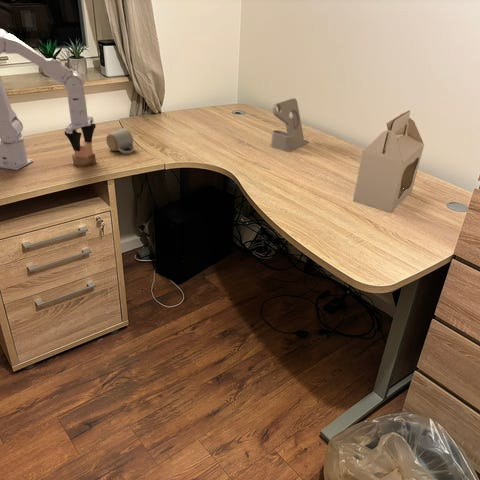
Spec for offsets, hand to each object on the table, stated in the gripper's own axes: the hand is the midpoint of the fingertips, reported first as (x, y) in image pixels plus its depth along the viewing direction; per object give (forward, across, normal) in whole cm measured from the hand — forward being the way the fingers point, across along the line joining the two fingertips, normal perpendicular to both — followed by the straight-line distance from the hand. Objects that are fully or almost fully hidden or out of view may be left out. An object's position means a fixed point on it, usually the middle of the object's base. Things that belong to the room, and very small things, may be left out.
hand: (82, 147), depth 170 cm
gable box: (+6, +13, -107) cm, 108 cm away
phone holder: (+6, +51, -67) cm, 85 cm away
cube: (+3, 0, 0) cm, 3 cm away
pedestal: (+6, 0, 0) cm, 6 cm away
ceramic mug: (+6, +17, -6) cm, 19 cm away
